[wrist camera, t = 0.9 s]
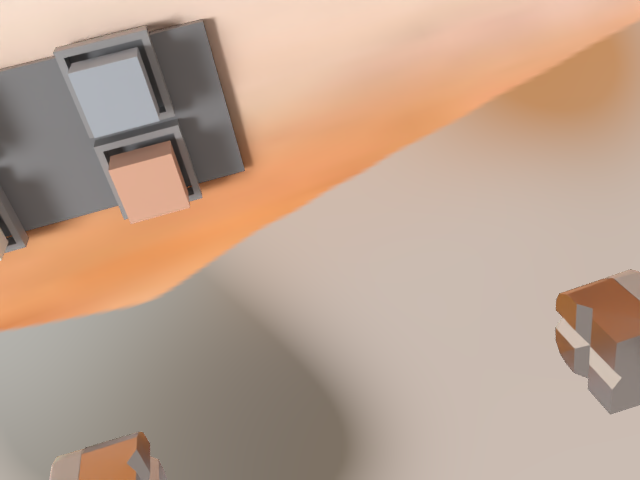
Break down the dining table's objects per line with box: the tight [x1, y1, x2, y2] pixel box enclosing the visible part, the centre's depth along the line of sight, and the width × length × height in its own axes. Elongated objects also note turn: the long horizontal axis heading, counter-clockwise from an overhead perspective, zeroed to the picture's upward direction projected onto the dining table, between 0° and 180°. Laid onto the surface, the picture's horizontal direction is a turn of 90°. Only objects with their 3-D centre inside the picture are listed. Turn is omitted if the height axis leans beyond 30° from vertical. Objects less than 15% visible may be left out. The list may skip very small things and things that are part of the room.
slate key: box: [68, 47, 160, 138], centre depth 41 cm, size 4×4×3 cm
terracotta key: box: [108, 140, 190, 224], centre depth 45 cm, size 4×4×3 cm
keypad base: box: [0, 19, 245, 253], centre depth 44 cm, size 13×28×2 cm, turn 101°
